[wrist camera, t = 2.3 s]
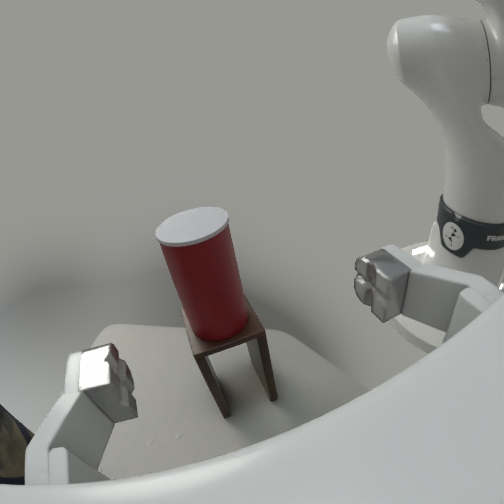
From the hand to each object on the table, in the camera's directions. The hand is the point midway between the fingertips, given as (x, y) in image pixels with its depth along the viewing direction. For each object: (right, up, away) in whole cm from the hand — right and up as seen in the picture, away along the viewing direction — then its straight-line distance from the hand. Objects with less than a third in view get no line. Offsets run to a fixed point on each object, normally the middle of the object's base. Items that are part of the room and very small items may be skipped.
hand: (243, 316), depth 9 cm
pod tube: (-2, -4, +17) cm, 17 cm away
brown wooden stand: (-1, -13, +22) cm, 26 cm away
